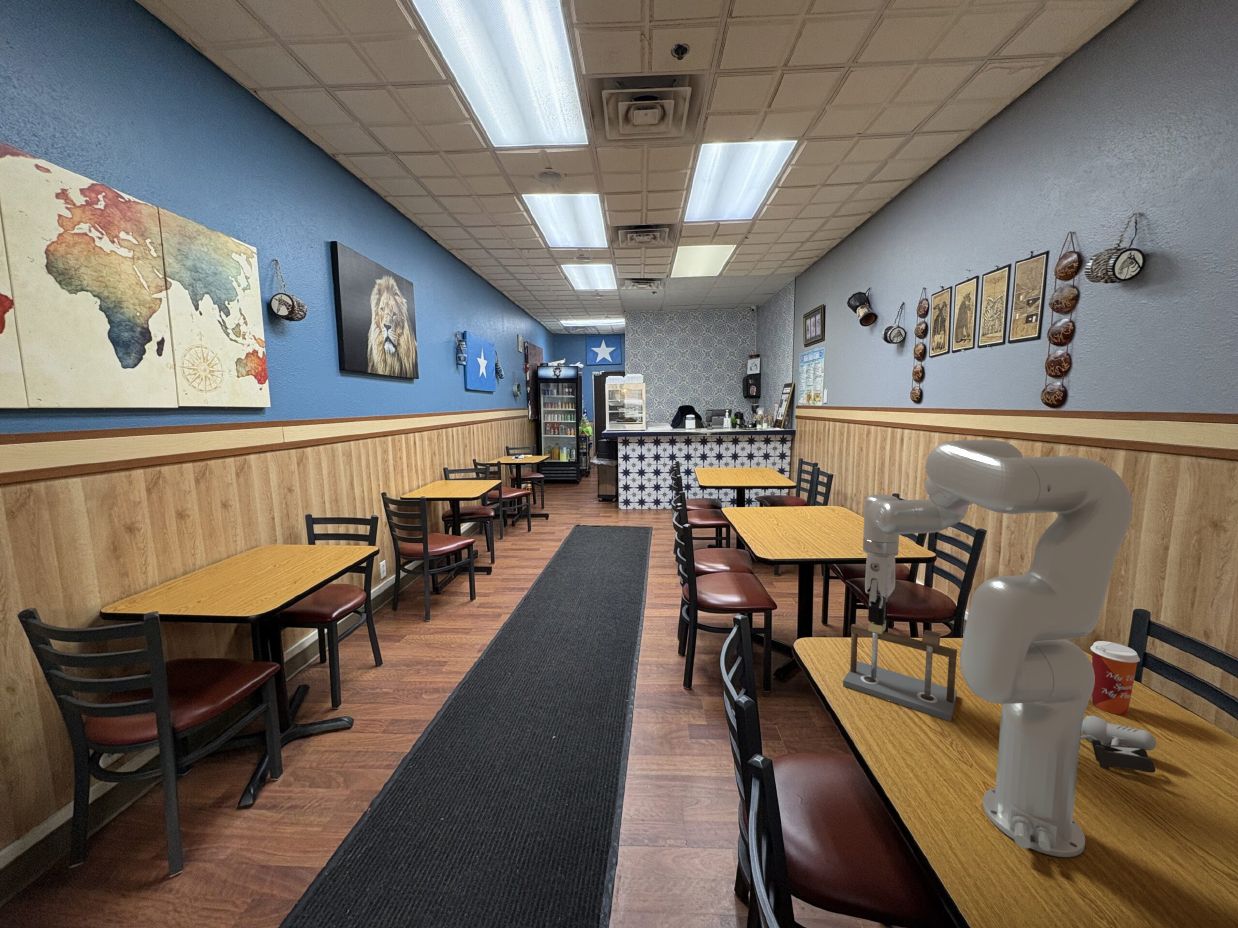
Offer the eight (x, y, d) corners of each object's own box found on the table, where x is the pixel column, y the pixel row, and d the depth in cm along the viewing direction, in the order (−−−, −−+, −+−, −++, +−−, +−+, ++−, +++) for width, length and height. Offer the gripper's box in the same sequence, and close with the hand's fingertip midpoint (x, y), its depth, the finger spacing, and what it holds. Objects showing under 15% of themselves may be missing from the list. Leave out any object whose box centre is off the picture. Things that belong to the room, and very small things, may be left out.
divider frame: (952, 706, 107) (956, 644, 105) (847, 674, 121) (849, 618, 119) (954, 697, 110) (958, 637, 109) (852, 666, 124) (854, 613, 123)
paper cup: (1111, 718, 104) (1116, 657, 103) (1076, 697, 112) (1081, 640, 110) (1145, 717, 104) (1151, 655, 103) (1108, 696, 112) (1114, 639, 111)
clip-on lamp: (1028, 752, 99) (1157, 784, 85) (1020, 721, 99) (1148, 749, 85) (1040, 722, 106) (1161, 748, 92) (1033, 694, 106) (1153, 716, 92)
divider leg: (880, 682, 116) (883, 602, 114) (865, 677, 118) (868, 599, 116) (884, 674, 119) (887, 597, 117) (870, 670, 121) (873, 594, 119)
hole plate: (950, 721, 104) (951, 714, 104) (843, 685, 118) (843, 679, 118) (956, 696, 113) (957, 689, 113) (855, 665, 127) (856, 660, 127)
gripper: (890, 557, 107) (887, 636, 109) (904, 541, 119) (901, 612, 121) (854, 551, 112) (851, 627, 114) (871, 536, 124) (869, 605, 126)
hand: (877, 618), depth 117 cm, fingers closed on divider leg, 3 cm apart
